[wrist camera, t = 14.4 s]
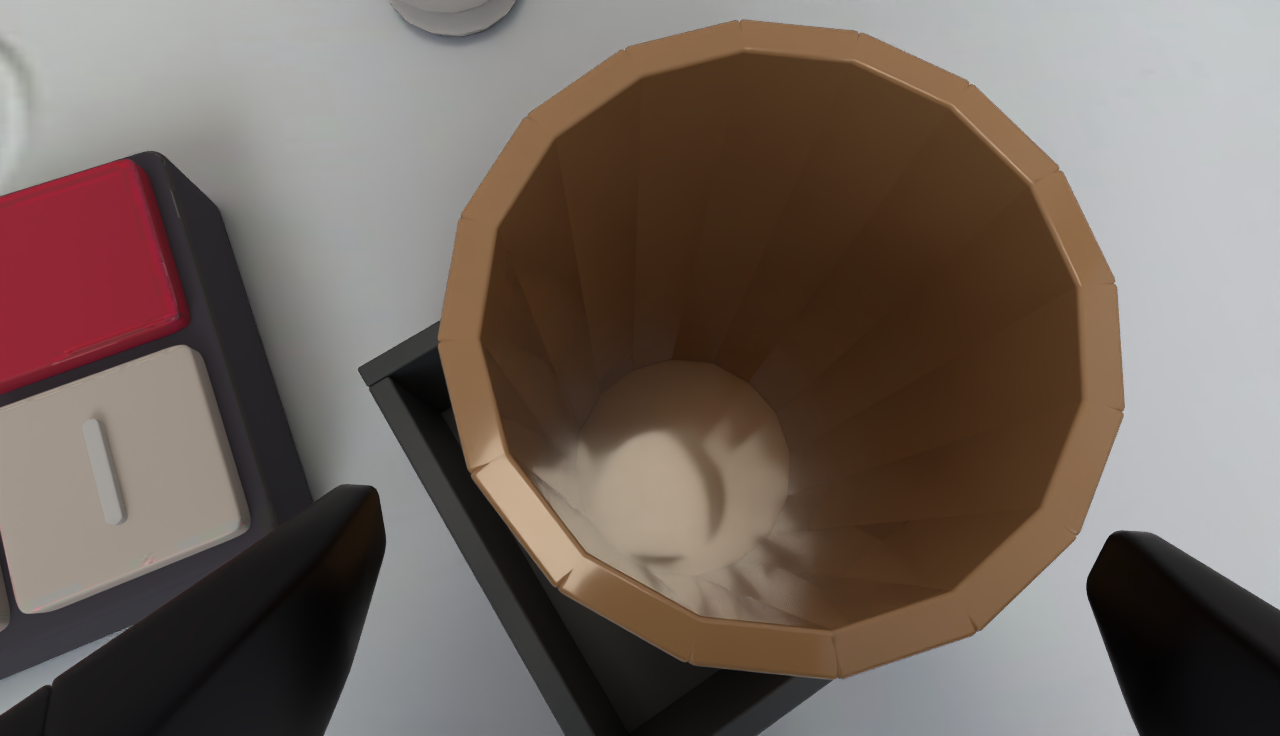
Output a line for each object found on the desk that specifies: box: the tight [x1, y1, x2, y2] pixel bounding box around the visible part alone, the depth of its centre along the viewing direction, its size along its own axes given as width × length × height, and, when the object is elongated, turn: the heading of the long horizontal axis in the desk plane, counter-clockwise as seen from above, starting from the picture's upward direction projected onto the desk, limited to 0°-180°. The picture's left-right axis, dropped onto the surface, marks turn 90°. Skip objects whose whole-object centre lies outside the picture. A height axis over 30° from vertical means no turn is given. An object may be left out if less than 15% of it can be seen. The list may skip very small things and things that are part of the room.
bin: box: [358, 320, 832, 736], centre depth 17 cm, size 10×10×5 cm
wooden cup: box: [438, 20, 1125, 680], centre depth 13 cm, size 6×6×13 cm
